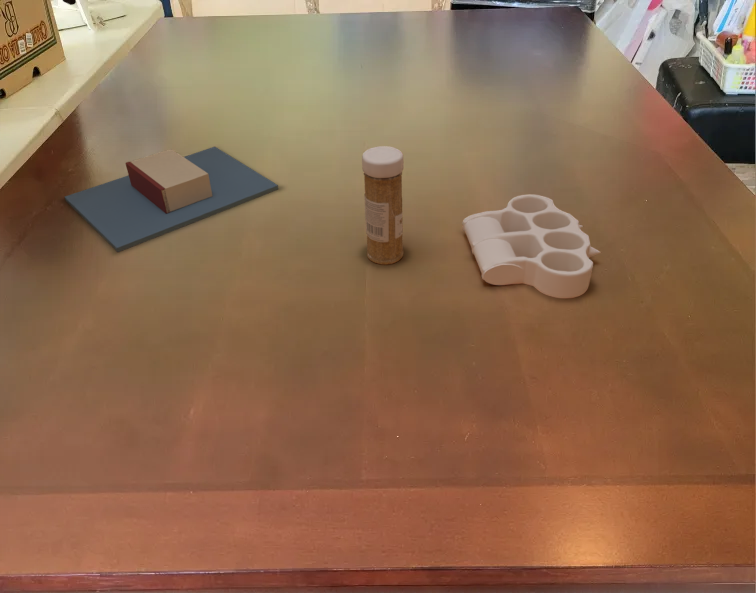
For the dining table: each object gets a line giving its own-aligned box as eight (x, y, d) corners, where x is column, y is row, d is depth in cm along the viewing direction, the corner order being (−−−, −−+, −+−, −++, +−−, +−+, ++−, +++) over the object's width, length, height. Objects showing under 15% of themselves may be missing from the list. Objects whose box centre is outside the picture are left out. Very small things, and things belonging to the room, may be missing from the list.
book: (131, 185, 94) (125, 162, 92) (176, 170, 98) (171, 148, 96) (166, 213, 88) (160, 189, 85) (213, 196, 91) (208, 173, 89)
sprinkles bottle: (410, 257, 79) (411, 154, 71) (380, 270, 77) (377, 166, 69) (388, 241, 82) (387, 140, 74) (358, 253, 80) (353, 151, 72)
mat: (118, 253, 82) (116, 247, 81) (65, 201, 93) (64, 196, 92) (278, 190, 94) (278, 185, 93) (215, 151, 105) (214, 146, 104)
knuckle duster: (456, 221, 86) (565, 213, 87) (489, 306, 71) (619, 295, 72) (457, 199, 84) (569, 190, 85) (491, 281, 69) (625, 270, 70)
